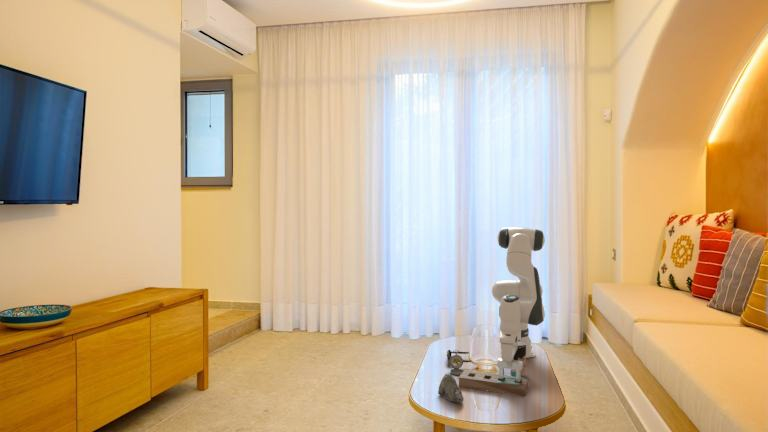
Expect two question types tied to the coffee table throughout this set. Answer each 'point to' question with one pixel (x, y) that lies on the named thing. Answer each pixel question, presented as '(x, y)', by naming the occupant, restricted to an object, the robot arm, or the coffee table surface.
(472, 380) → the slotted brown block
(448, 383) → the mineral rock
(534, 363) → the coffee table surface
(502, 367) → the tall white block
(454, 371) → the pocket watch
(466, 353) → the sunglasses
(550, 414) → the coffee table surface
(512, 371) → the cup
